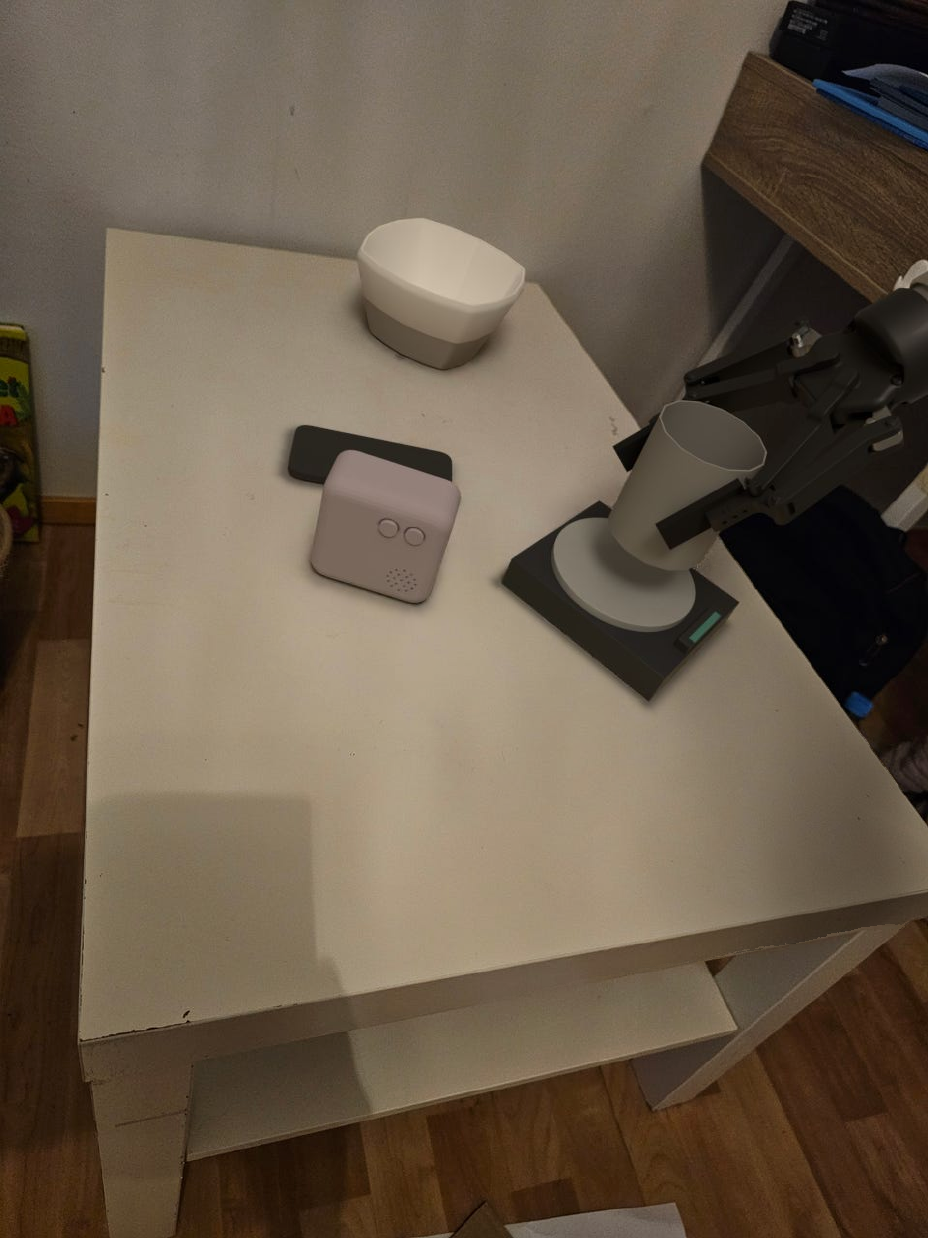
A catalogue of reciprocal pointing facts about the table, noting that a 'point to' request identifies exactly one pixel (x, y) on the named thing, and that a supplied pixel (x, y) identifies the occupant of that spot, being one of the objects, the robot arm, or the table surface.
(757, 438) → the cup
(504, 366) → the table surface
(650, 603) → the scale
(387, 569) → the electronic device
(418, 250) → the bowl
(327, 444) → the phone
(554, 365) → the table surface
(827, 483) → the robot arm
